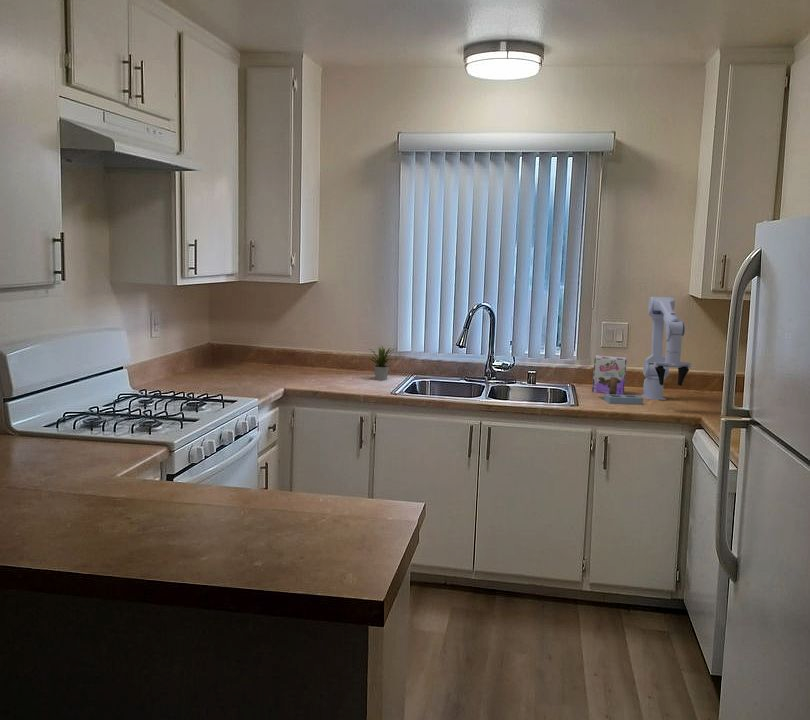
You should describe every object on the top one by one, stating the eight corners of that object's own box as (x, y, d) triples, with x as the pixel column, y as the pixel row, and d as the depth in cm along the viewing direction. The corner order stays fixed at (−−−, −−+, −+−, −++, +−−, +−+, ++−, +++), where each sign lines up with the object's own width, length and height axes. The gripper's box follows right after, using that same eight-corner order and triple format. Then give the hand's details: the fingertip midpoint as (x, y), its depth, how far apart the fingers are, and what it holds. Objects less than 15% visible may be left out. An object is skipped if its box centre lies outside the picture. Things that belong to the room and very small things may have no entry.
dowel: (607, 397, 345) (609, 377, 344) (614, 398, 345) (616, 377, 344) (610, 399, 342) (611, 378, 341) (616, 399, 342) (618, 378, 341)
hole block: (604, 401, 339) (604, 394, 338) (636, 402, 340) (637, 395, 339) (609, 404, 332) (609, 397, 332) (642, 405, 333) (643, 398, 333)
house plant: (405, 380, 372) (406, 345, 370) (381, 383, 364) (382, 347, 361) (385, 376, 383) (386, 342, 381) (362, 378, 374) (363, 343, 372)
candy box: (591, 393, 358) (594, 356, 356) (592, 391, 364) (595, 354, 361) (623, 395, 354) (626, 358, 352) (624, 393, 360) (627, 357, 357)
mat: (597, 397, 347) (598, 396, 347) (620, 398, 348) (620, 397, 348) (603, 401, 339) (603, 400, 339) (626, 401, 340) (627, 400, 340)
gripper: (659, 352, 318) (656, 386, 320) (695, 353, 319) (692, 387, 321) (652, 350, 325) (650, 383, 327) (687, 351, 326) (684, 384, 328)
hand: (670, 385), depth 324 cm, fingers open, 7 cm apart
